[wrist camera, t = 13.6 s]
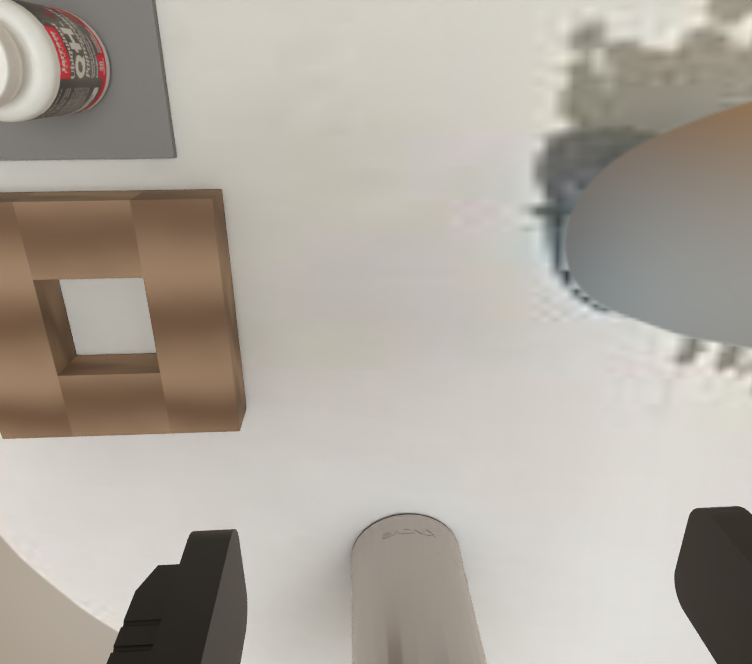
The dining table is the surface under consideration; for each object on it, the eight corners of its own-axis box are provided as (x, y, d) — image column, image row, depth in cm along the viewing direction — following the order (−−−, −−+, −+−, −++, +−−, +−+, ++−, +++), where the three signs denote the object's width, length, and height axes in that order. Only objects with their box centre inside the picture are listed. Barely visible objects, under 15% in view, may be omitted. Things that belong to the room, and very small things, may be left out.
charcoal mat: (176, 156, 36) (174, 158, 35) (-8, 159, 36) (-14, 160, 35) (146, -56, 32) (143, -58, 31) (-65, -57, 31) (-73, -59, 31)
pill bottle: (133, 68, 33) (53, 68, 24) (72, 133, 35) (-26, 155, 26) (54, -16, 32) (-64, -50, 23) (-7, 55, 33) (-142, 50, 24)
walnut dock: (246, 408, 44) (239, 431, 41) (24, 415, 43) (2, 438, 40) (221, 189, 37) (211, 198, 34) (-41, 193, 36) (-72, 203, 34)
